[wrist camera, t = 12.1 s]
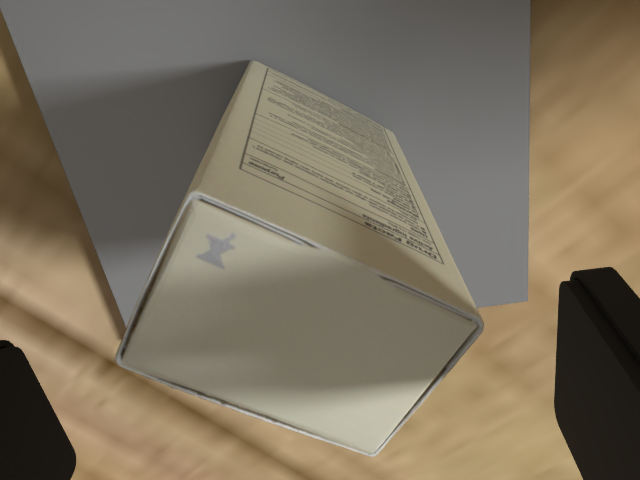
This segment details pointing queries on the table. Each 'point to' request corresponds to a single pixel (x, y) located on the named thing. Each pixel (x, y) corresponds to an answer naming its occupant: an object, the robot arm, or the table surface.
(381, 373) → the skincare box
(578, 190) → the table surface
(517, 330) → the table surface
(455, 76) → the slate board
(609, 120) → the table surface
